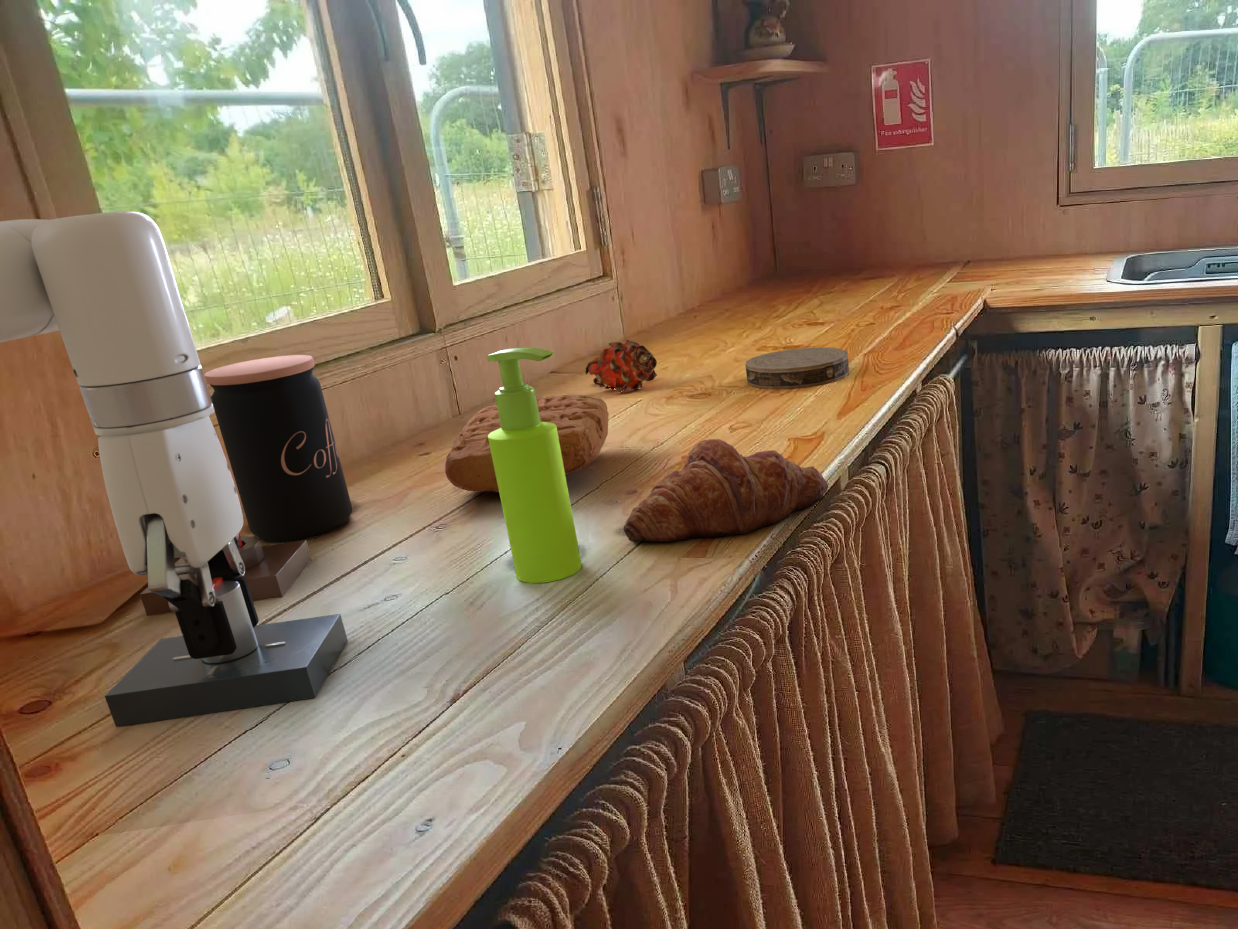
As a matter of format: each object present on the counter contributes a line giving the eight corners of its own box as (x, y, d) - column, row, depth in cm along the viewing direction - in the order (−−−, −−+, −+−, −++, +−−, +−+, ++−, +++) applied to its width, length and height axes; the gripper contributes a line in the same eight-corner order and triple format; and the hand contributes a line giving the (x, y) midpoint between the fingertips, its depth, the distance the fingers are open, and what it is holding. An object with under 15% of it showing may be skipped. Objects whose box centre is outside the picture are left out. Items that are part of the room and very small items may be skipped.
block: (147, 616, 99) (133, 575, 97) (188, 577, 108) (176, 539, 106) (282, 597, 100) (270, 556, 98) (312, 560, 109) (301, 522, 107)
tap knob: (248, 658, 80) (227, 593, 78) (192, 666, 80) (170, 600, 78) (264, 637, 84) (245, 573, 82) (211, 644, 84) (191, 580, 82)
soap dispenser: (570, 585, 95) (528, 355, 88) (504, 581, 97) (456, 358, 90) (603, 560, 100) (565, 341, 93) (538, 558, 102) (496, 344, 95)
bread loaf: (493, 458, 141) (480, 397, 138) (623, 445, 140) (614, 383, 137) (440, 511, 120) (425, 441, 117) (593, 497, 119) (581, 426, 116)
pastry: (700, 490, 117) (690, 417, 114) (834, 493, 111) (827, 417, 108) (622, 545, 103) (609, 464, 100) (771, 552, 97) (761, 466, 94)
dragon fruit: (666, 398, 172) (597, 413, 175) (669, 358, 176) (602, 374, 180) (643, 362, 165) (572, 378, 168) (648, 322, 169) (579, 338, 173)
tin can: (726, 384, 170) (724, 365, 169) (799, 363, 179) (797, 345, 178) (796, 392, 158) (795, 372, 157) (870, 370, 168) (869, 350, 167)
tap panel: (115, 726, 78) (103, 693, 77) (170, 666, 87) (160, 636, 86) (315, 697, 79) (305, 665, 78) (348, 641, 88) (340, 611, 87)
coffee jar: (309, 546, 113) (262, 374, 107) (230, 544, 117) (179, 378, 110) (375, 512, 122) (335, 352, 116) (299, 512, 126) (256, 356, 119)
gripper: (145, 385, 83) (216, 606, 89) (29, 437, 67) (125, 700, 74) (246, 373, 83) (309, 593, 90) (154, 422, 67) (238, 684, 74)
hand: (225, 639), depth 82 cm, fingers closed on tap knob, 4 cm apart
